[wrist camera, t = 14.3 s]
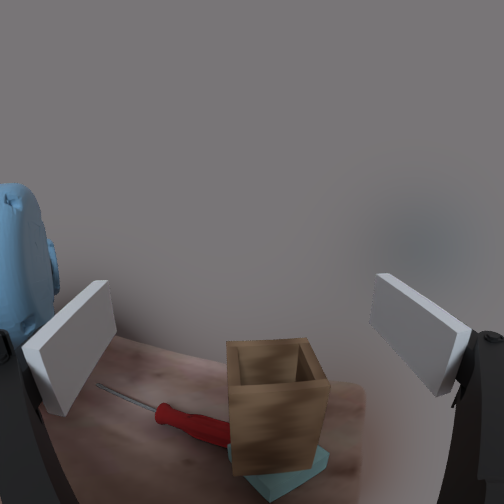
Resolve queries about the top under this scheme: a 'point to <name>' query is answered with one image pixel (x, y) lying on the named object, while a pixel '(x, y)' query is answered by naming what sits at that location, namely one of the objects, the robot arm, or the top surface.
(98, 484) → the top surface
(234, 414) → the brown tall open box
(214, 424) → the screwdriver
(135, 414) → the top surface
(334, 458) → the top surface
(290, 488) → the post stand
